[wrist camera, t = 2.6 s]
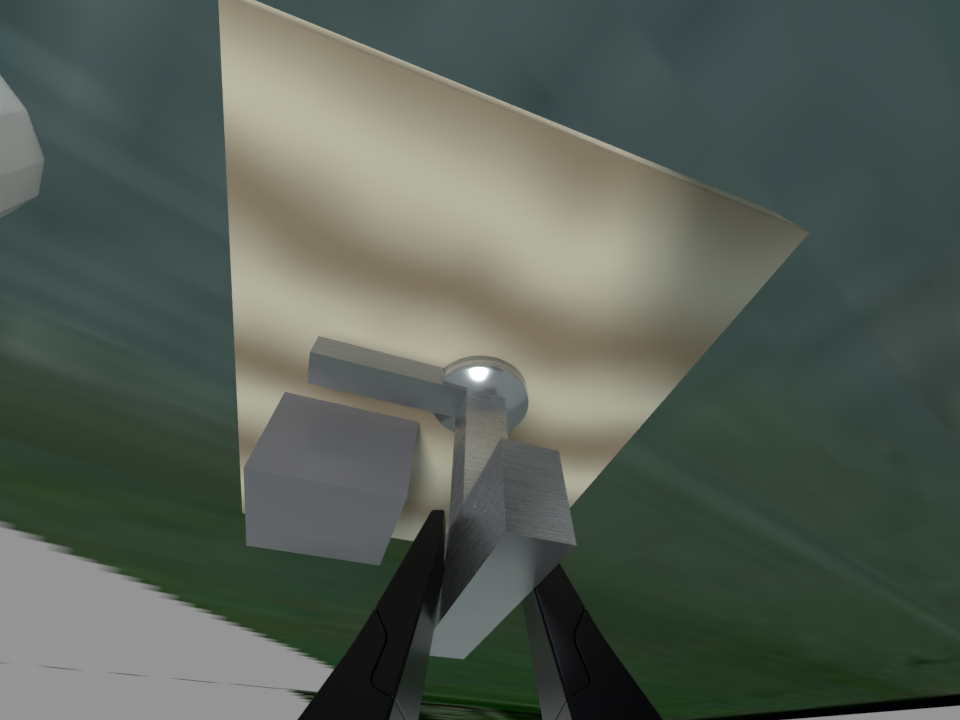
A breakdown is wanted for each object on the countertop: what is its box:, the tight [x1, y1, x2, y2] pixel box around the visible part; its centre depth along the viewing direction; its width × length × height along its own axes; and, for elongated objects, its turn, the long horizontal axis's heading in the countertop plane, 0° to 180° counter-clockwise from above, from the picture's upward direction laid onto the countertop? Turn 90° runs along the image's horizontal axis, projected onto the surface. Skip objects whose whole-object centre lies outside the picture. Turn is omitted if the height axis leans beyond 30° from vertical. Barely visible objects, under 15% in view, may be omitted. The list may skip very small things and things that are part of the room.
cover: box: [243, 392, 419, 565], centre depth 19 cm, size 6×6×4 cm
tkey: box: [307, 336, 577, 659], centre depth 14 cm, size 8×9×8 cm
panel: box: [218, 0, 809, 541], centre depth 19 cm, size 24×18×2 cm
